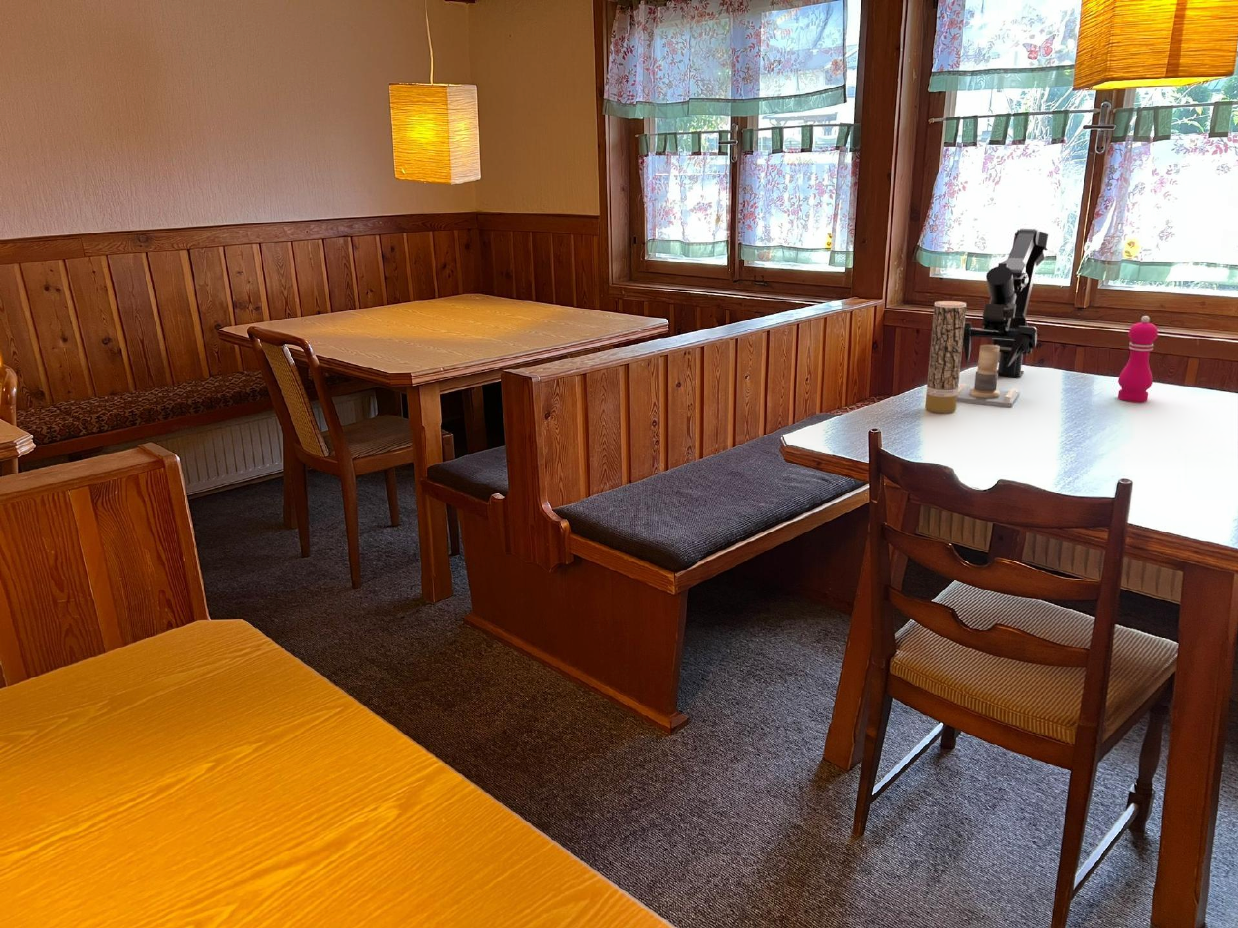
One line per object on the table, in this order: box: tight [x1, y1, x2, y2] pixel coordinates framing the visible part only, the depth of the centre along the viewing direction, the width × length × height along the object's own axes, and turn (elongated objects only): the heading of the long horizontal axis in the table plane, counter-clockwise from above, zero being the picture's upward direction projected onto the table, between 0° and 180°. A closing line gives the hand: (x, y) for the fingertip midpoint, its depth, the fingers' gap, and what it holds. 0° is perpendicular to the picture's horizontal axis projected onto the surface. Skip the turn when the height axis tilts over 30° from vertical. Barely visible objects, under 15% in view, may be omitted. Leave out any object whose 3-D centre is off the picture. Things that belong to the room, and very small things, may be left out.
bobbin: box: [970, 344, 1000, 398], centre depth 219 cm, size 7×7×12 cm
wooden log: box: [925, 300, 967, 414], centre depth 208 cm, size 7×7×25 cm
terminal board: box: [957, 383, 1021, 408], centre depth 221 cm, size 12×14×2 cm
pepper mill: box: [1117, 315, 1159, 403], centre depth 215 cm, size 7×7×20 cm
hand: (986, 363), depth 217 cm, fingers open, 9 cm apart
